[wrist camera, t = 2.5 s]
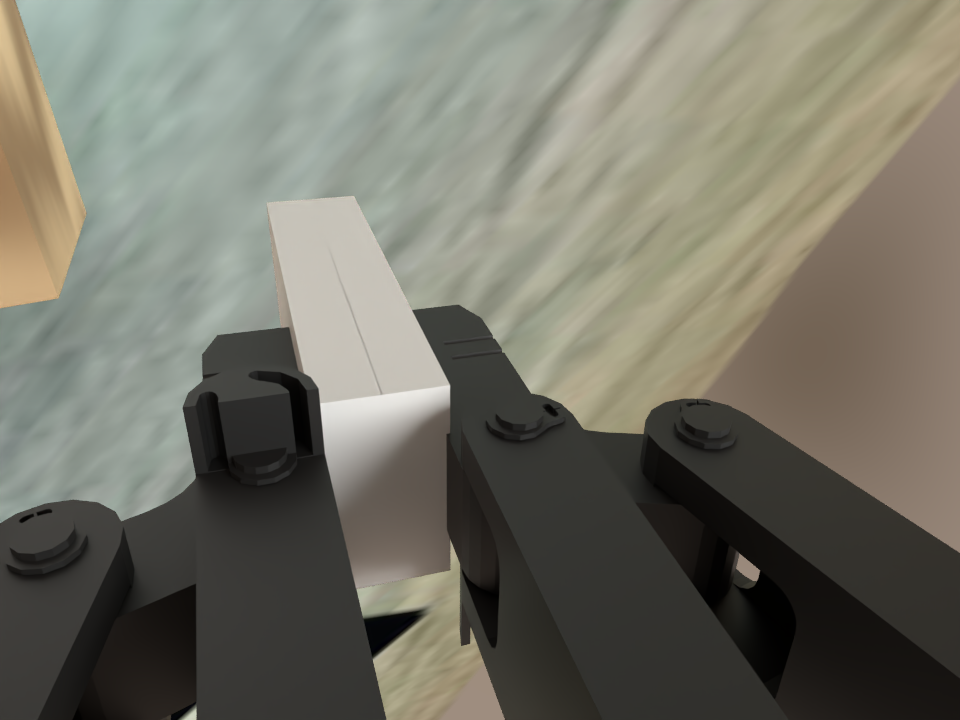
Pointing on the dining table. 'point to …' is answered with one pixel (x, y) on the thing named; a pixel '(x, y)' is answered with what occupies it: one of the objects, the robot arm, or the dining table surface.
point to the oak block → (31, 177)
